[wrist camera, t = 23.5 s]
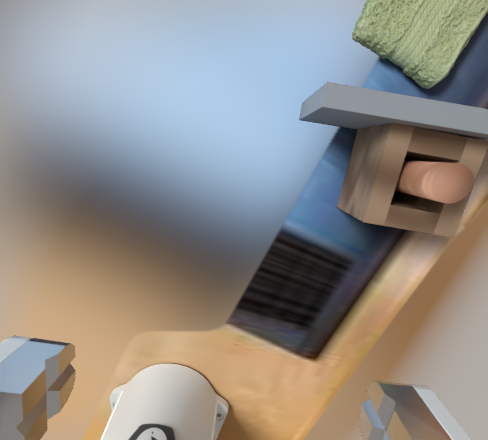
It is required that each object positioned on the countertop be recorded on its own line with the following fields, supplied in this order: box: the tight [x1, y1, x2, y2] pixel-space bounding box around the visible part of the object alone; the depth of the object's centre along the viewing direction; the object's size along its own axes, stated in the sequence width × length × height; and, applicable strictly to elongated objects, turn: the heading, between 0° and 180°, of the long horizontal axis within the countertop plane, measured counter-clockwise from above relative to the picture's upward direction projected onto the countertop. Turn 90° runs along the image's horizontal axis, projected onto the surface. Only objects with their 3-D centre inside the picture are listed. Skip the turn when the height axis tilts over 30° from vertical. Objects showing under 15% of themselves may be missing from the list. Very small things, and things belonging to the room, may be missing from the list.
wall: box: [299, 82, 488, 150], centre depth 29 cm, size 2×24×10 cm, turn 81°
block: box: [337, 123, 488, 237], centre depth 31 cm, size 10×10×8 cm
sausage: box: [395, 160, 473, 204], centre depth 29 cm, size 4×4×12 cm
